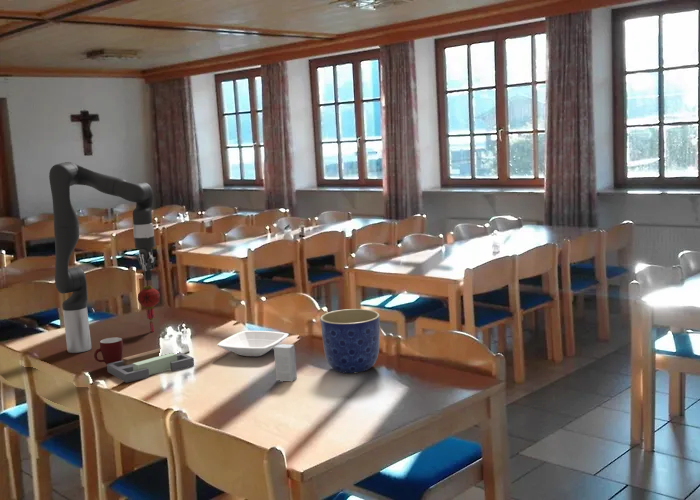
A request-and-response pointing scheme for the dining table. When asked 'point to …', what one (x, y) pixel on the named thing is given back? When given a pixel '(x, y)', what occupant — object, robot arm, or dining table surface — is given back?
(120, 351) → the mug
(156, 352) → the walnut slat
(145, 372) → the frame
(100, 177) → the robot arm
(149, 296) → the lantern
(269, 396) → the dining table surface
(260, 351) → the bowl
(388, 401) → the dining table surface
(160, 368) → the sage slat
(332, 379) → the dining table surface
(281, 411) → the dining table surface
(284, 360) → the skincare box
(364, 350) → the planter
